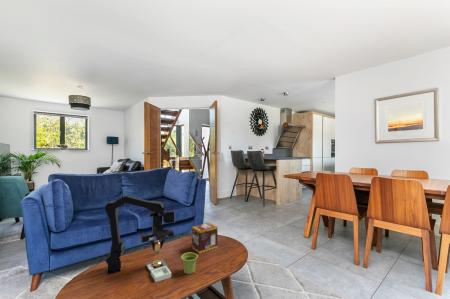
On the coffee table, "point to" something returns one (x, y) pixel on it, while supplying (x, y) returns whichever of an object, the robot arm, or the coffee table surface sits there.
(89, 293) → the coffee table surface
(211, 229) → the supplement box
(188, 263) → the plant pot
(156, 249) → the copper cell
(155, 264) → the brass plunger
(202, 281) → the coffee table surface
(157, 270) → the trough
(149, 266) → the grey square tray
